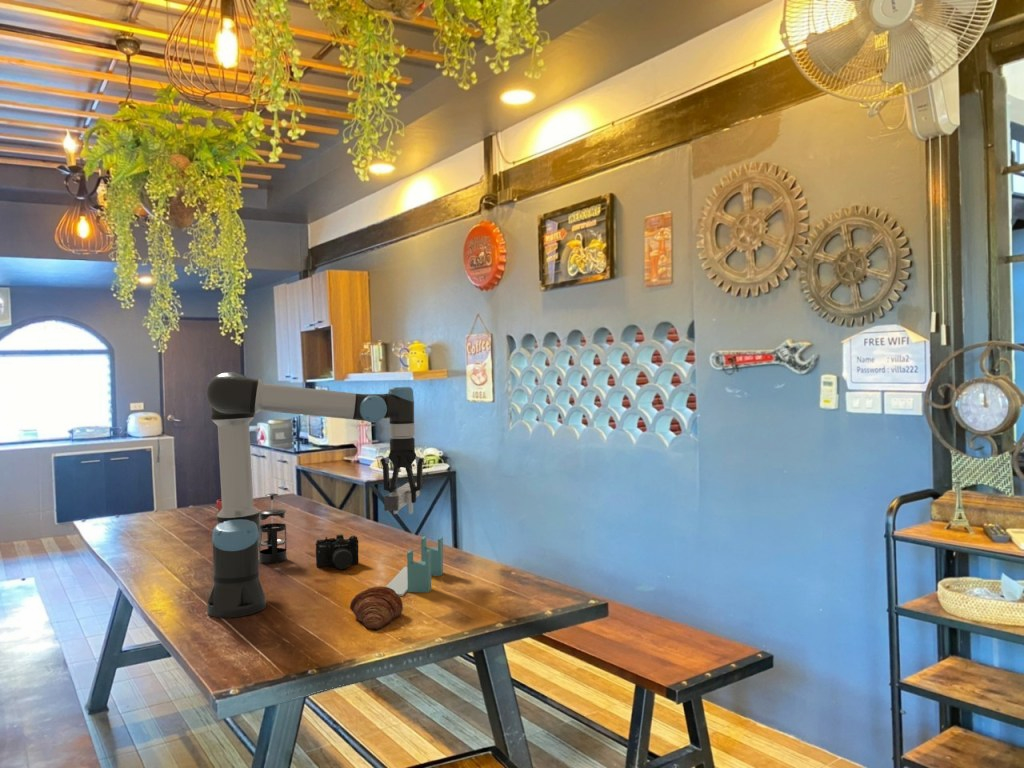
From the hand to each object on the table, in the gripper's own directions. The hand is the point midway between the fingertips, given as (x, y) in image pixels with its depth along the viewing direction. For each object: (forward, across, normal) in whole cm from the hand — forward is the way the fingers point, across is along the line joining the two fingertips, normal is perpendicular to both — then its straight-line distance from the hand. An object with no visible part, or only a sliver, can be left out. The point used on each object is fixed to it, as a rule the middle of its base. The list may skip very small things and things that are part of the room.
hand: (403, 513), depth 230 cm
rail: (-3, 0, 0) cm, 3 cm away
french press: (+21, +52, -23) cm, 61 cm away
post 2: (+21, -7, -9) cm, 24 cm away
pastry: (+21, -1, +34) cm, 40 cm away
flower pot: (+21, +100, -88) cm, 135 cm away
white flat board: (+21, 0, 0) cm, 21 cm away
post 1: (+21, -7, +9) cm, 24 cm away
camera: (+21, +26, -15) cm, 37 cm away
